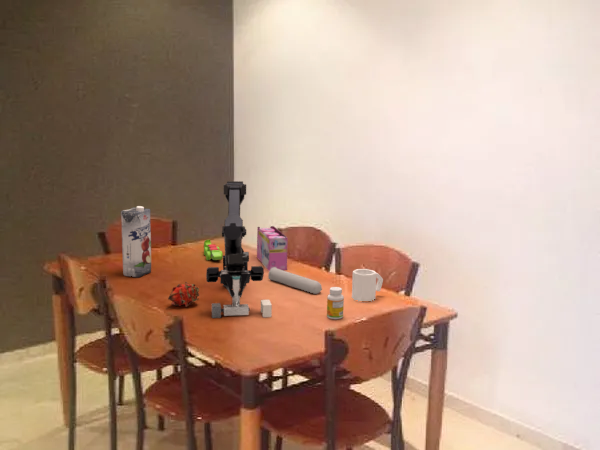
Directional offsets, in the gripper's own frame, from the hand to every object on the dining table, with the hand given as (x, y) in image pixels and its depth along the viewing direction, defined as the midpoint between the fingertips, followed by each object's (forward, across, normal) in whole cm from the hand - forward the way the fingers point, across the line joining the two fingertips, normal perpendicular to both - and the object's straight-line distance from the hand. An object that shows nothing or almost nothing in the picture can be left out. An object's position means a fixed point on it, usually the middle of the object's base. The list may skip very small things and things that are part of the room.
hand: (236, 296), depth 242 cm
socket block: (+4, +10, +6) cm, 12 cm away
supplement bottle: (+8, +32, +2) cm, 33 cm away
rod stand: (+4, -2, +6) cm, 7 cm away
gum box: (-42, +20, +52) cm, 70 cm away
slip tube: (+3, 0, +5) cm, 6 cm away
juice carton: (-34, -34, +44) cm, 65 cm away
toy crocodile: (-50, -3, +60) cm, 79 cm away
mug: (-6, +48, +16) cm, 51 cm away
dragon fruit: (-5, -17, +15) cm, 23 cm away
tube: (-17, +25, +28) cm, 41 cm away
